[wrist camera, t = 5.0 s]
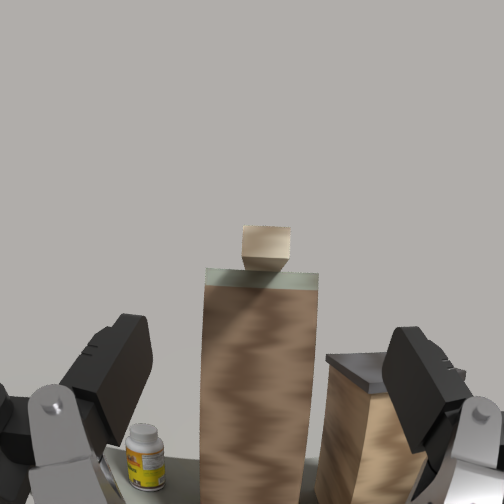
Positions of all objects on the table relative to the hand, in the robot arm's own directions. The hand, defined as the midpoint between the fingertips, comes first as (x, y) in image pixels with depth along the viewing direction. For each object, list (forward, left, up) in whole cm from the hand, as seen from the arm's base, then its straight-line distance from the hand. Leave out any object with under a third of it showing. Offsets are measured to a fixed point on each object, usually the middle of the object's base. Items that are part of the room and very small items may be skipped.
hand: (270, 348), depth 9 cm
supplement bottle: (+15, -29, -28) cm, 43 cm away
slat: (0, -20, +4) cm, 21 cm away
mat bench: (-15, -23, -28) cm, 39 cm away
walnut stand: (0, -24, -28) cm, 37 cm away
